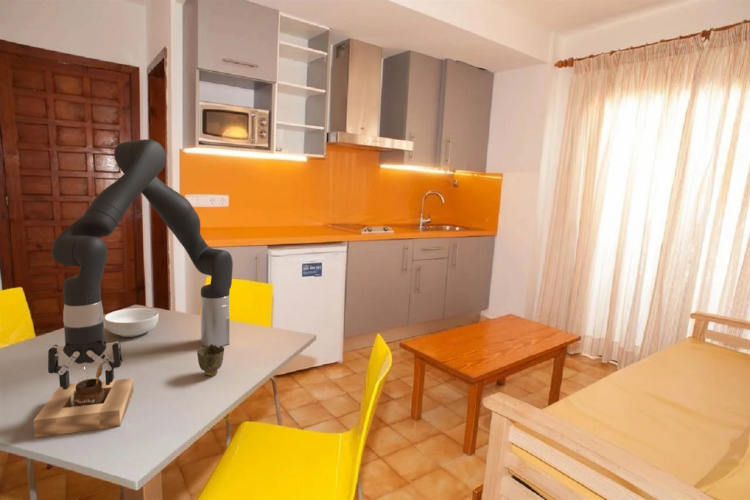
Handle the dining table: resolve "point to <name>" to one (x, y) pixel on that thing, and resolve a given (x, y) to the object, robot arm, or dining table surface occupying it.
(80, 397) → the utensil holder
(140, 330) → the cereal bowl
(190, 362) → the dining table surface
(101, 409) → the oak socket block
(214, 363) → the cup
